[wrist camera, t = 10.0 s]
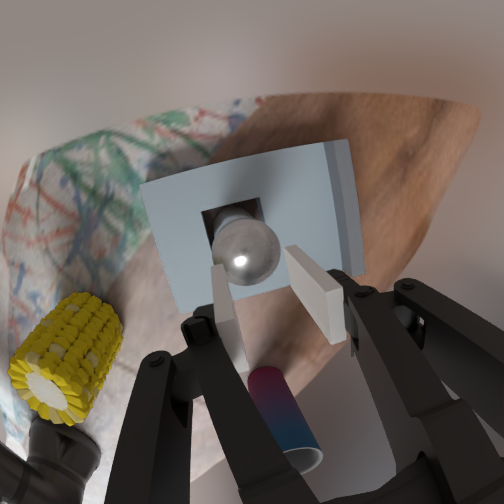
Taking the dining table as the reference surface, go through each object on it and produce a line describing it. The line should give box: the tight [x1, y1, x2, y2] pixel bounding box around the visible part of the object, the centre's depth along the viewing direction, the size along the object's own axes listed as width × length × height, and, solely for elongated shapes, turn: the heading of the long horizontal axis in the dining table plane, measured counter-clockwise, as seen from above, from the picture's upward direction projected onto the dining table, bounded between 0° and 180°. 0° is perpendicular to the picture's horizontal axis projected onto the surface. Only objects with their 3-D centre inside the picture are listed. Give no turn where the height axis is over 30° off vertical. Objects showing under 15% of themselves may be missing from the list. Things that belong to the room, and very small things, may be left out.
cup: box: [248, 366, 323, 474], centre depth 31 cm, size 7×7×15 cm
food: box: [7, 292, 124, 426], centre depth 25 cm, size 15×12×10 cm
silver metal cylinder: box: [212, 206, 281, 286], centre depth 27 cm, size 5×5×10 cm
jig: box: [139, 139, 365, 314], centre depth 29 cm, size 20×14×5 cm
